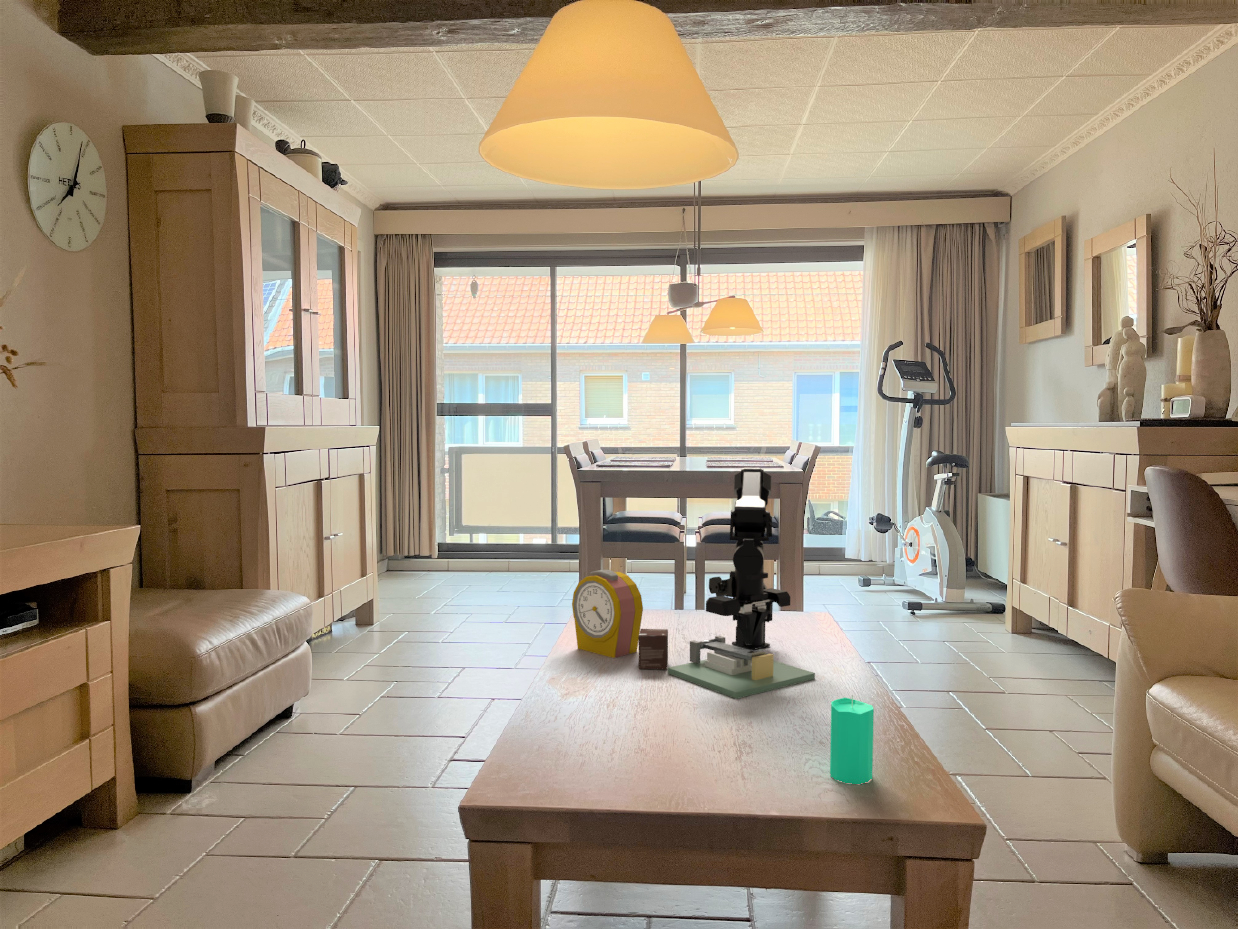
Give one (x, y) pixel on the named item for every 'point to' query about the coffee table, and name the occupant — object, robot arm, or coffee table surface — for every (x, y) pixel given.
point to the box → (653, 649)
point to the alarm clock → (607, 613)
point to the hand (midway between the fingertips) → (748, 644)
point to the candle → (851, 741)
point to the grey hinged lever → (730, 649)
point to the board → (738, 672)
